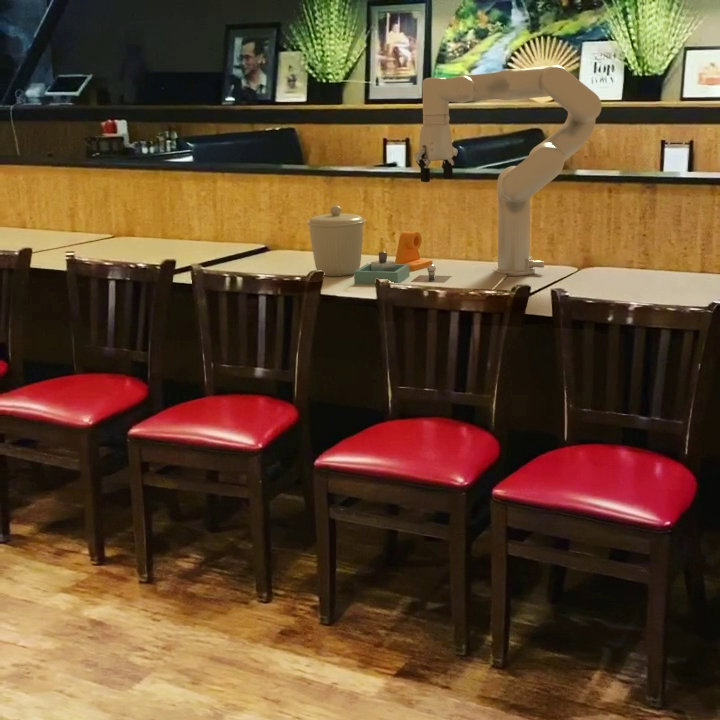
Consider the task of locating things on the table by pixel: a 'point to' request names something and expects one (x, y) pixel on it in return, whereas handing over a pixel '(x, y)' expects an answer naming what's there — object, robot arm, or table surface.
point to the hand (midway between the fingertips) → (436, 180)
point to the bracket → (411, 251)
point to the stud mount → (431, 276)
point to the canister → (337, 242)
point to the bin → (381, 274)
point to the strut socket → (383, 264)
